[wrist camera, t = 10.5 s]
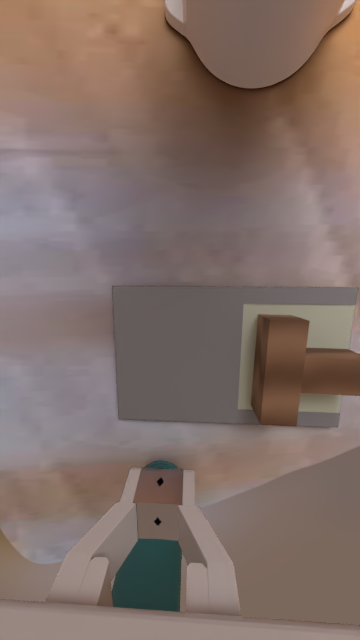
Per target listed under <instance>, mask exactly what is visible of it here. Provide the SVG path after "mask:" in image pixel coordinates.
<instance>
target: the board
mask: <svg viewBox="0 0 360 640" xmlns="http://www.w3.org/2000/svg"><path fill="white" fill-rule="evenodd" d="M112 291H113V312H114V333H115V353H116V374H117V395H118V416H119V419H129V420H156V421H182V422H208V423H235V424H260V423H259V421H258V419H257V417H256V415H255V413H254V411H253V408H252V406H251V395H252V383H253V371H254V358H255V346H256V334H257V322H258V314H269V315H293V316H296V317H299V318H302V319H305V320H308V321H310V323H309V331H308V339H307V347H306V348H334V349H348V350H349V343H350V336H351V330H352V323H353V316H354V309H355V305H356V300H357V293H358V288H351V287H199V286H112ZM341 398H342V395H330V394H306V393H301V395H300V403H299V411H298V419H297V426H314V427H338V423H339V416H340V413H339V412H340V405H341Z"/></svg>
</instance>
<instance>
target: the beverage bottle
mask: <svg viewBox="0 0 360 640" xmlns="http://www.w3.org/2000/svg"><path fill="white" fill-rule="evenodd" d="M145 468H154V469H178V468H177V467H176V466H175V465H173V464H171V463H169V462H165V461H156V462H153V463H150V464H149V465H147V466H146V467H145ZM181 555H182V550H181V547H180V545H179V542H178V541H175V540H165V539H139V538H138V541H137V542H136V544H135V545H134V547H133V548H132V550H131V551H130V553H129V555H128V556H127V558H126V559H125V561H124V562H123V564H122V565H121V567H120V568H119V570H118V571H117V573H116V577H115V581H114V585H113V589H112V602H113V607H120V608H134V609H148V610H162V611H176V612H180V586H181V559H182V558H181Z"/></svg>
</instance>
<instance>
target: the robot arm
mask: <svg viewBox="0 0 360 640" xmlns="http://www.w3.org/2000/svg"><path fill="white" fill-rule="evenodd" d="M356 1H357V0H165V17H166V20H167V21H168V23H169V24H170V25H171V26H172V27H173V28H174V29H175V30H177V31H178V32H179V33H181V34H182V35H184V36H185V37H186V38H187V39H188V40H189V41H190V43H191V44H192V46H193V48H194V50H195V52H196V53H197V55H198V57H199V58H200V60H201V62H202V63H203V64H204V65H205V67H206V68H207V69H208V70H209V71H210V72H211V73H212V74H213V75H215V76H216V77H217V78H219V79H220V80H222V81H224V82H226V83H228V84H230V85H233V86H237V87H241V88H262V87H266V86H270V85H273V84H276V83H278V82H280V81H282V80H284V79H286V78H287V77H289V76H290V75H292V74H293V73H294V72H296V71H297V70H298V69H299V68H300V67H301V66H302V65H303V64H304V63H305V62H306V61H307V60H308V59H309V57H310V56H311V55H312V54H313V52H314V51H315V49H316V48H317V46H318V44H319V43H320V41H321V40H322V38H323V37H324V36H325V34H326V33H327V32H328V31H329V30H330V29H331V28H333V27H334V26H335V25H337V24H338V23H339V22H341V21H342V20H343V19H344V18H345V17H346V16H347V15H348V14H349V13H350V12H351V11H352V9H353V7H354V5H355V3H356ZM138 538H139V539H165V540H175V541H178V542H179V545H180V547H181V550H182V552H183V555H184V557H185V560H186V563H187V565H188V567H187V593H186V612H176V611H162V610H148V609H134V608H120V607H113V602H112V591H111V581H112V579H113V577H114V576H115V574H116V573H117V571H118V570H119V568H120V567H121V565H122V564H123V562H124V561H125V559H126V558H127V556H128V555H129V553H130V551H131V550H132V548H133V547H134V545H135V544H136V542H137V541H138ZM0 640H360V625H353V624H339V623H326V622H311V621H299V620H298V621H297V620H285V619H284V620H283V619H271V618H256V617H243V616H241V611H240V604H239V597H238V591H237V584H236V577H235V570H234V564H233V562H232V561H231V559H230V557H229V556H228V554H227V552H226V551H225V549H224V548H223V546H222V544H221V543H220V541H219V539H218V538H217V536H216V534H215V533H214V531H213V529H212V528H211V526H210V524H209V523H208V521H207V519H206V518H205V516H204V514H203V513H202V511H201V509H200V508H199V506H195V471H194V470H184V472H183V469H154V468H137V467H131V469H130V471H129V474H128V477H127V480H126V484H125V487H124V490H123V493H122V496H121V499H120V502H116V503H115V504H114V505H113V506H112V507H111V508H110V509H109V510H108V511H107V512H106V513H105V514H104V515H103V517H102V518H101V519H100V520H99V521H98V522H97V523H96V524H95V525H94V526H93V527H92V528H91V529H90V530H89V531H88V532H87V533H86V534H85V535H84V536H83V537H82V538H81V539H80V540H79V541H78V542H77V543H76V544H75V545H74V546H73V547H72V548H71V549H70V550H69V551H68V552H67V554H66V556H65V558H64V560H63V563H62V565H61V567H60V569H59V572H58V574H57V576H56V579H55V581H54V583H53V585H52V587H51V590H50V592H49V594H48V596H47V598H46V601H45V602H38V601H37V602H36V601H24V600H10V599H0Z"/></svg>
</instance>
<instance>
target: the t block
mask: <svg viewBox="0 0 360 640" xmlns="http://www.w3.org/2000/svg"><path fill="white" fill-rule="evenodd" d="M309 323H310V321H308V320H305V319H302V318H299V317H296V316H293V315H269V314H258V322H257V334H256V346H255V358H254V371H253V383H252V395H251V406H252V408H253V411H254V413H255V415H256V417H257V419H258V421H259V423H260V425H280V426H297V419H298V411H299V403H300V395H301V393H306V394H330V395H353V396H360V354H358V353H355V352H353V351H351V350H348V349H334V348H306V347H307V339H308V331H309Z"/></svg>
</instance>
